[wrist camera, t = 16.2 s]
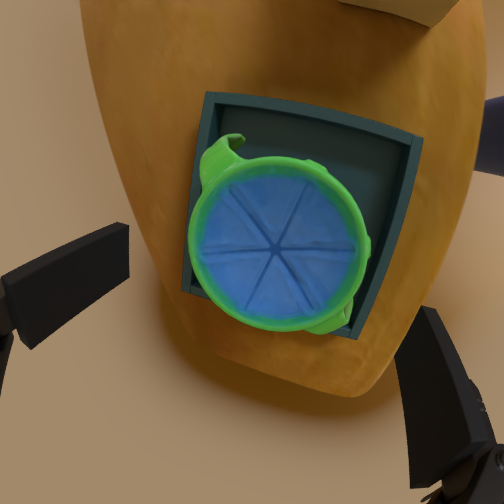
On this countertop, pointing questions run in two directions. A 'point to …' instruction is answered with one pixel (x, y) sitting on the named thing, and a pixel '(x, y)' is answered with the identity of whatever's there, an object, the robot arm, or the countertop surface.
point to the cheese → (410, 8)
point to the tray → (328, 155)
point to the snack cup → (276, 240)
